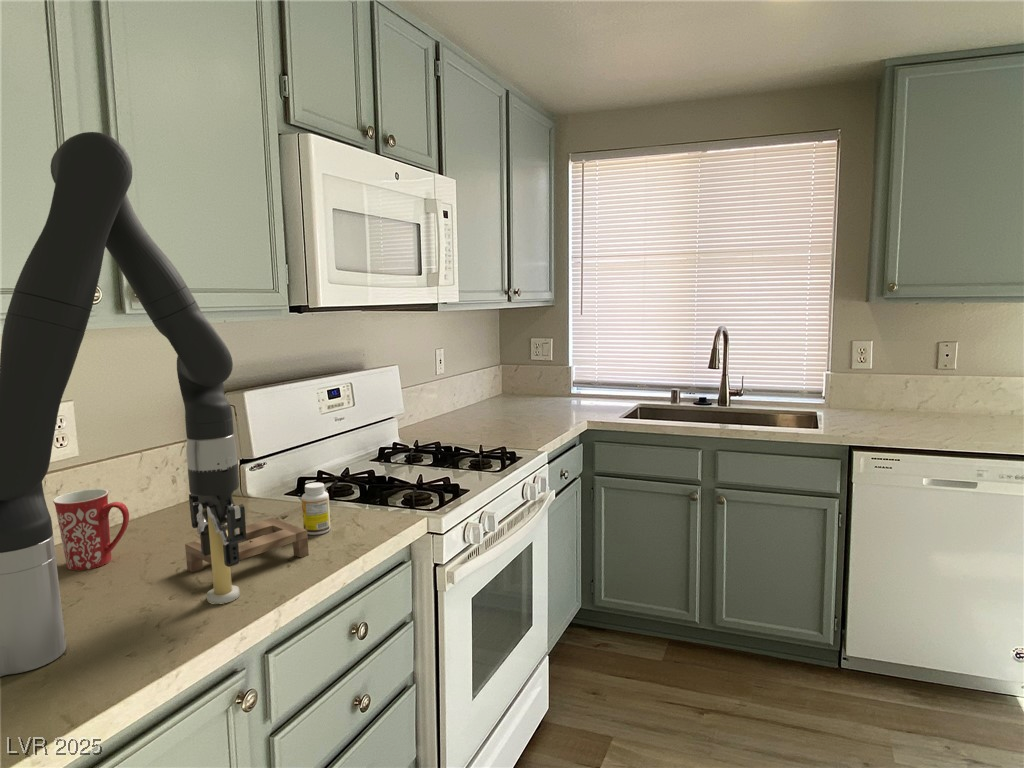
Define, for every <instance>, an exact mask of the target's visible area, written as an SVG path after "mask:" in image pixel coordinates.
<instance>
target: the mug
mask: <svg viewBox="0 0 1024 768" xmlns="http://www.w3.org/2000/svg"><path fill="white" fill-rule="evenodd" d="M108 496H109V490H107V489H104V488H94V489H93V488H91V489H82V490H76V491H72V492H69V493H68V492H66V493H63V494H61V495H59V496H57V497H54V499H53V500H52V503H53V504H54V506H55V513H56V516H57V521H58V527H59V531H60V532H59V533H60V538H61V542H62V547H63V553H64V557H65V564H66V568H67V570H69V569H71V570H70V571H73V570H81V571H86V570H85V569H88V570H93V569H96V567H97V568H99V566H100V567H103V566H105V565H106V564H108V563H109V562H111V560H112V551H113V550H114V549H115V547H116V546H117V544H118V543H119V542H120V540H121V539H122V538H123V536H124V534H125V533H126V530H127V528H128V525H129V522H130V513H129V512H130V511H129V509H128V507H127V505H125V504H124V503H123V502H120V501H114V502H110V503H109V500H108V498H109V497H108ZM112 508H117V509H118V510H119V511H120V512H121V514H122V515H121V516H122V524H121V527H120V530H119V532H118V533H117V535H116V536H115V538H114V539H113V541H111V532H110V530H111V529H110V516H109V515H110V511H111V510H112ZM104 564H105V565H104ZM92 568H93V569H92Z"/></svg>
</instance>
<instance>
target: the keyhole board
mask: <svg viewBox="0 0 1024 768" xmlns="http://www.w3.org/2000/svg"><path fill="white" fill-rule="evenodd" d="M237 529H238V532H239V528H237ZM227 532H228V530H227ZM239 534H240V533H239ZM308 539H309V538H308V534H307V530H305V529H304V527H299V526H296V525H293V524H291V523H288V522H285V521H282V520H279V519H277V518H273V517H272V518H269V519H265V520H262V521H257V522H255V523H252V524H248V525H246V540H243V541H239V542H238V544H241V543H244V544H242V545H238V548H239V561H241V560H245V559H247V558H251V557H254V556H256V555H260V554H262V553H267V552H268V551H271V550H274V549H277V548H280V547H284V546H286V545H289V544H292V548H293V552H292V553H293V556H294V557H296V556H297V557H296V558H298V557H301V558H303V557H302V556H304V557H306V556H305V555H307V556H309V541H308ZM247 541H249V543H245V542H247ZM184 546H185V557H186V558H185V561H186V570H187V571H189V572H191V573H195V572H198V571H201V570H203V569H204V565H203V561H205V562H207V563H209V564H210V565H212V562H211V555H207V556H204V555H202V552H201V540H200V539H197V540H195V541H190V542H187V543H185V544H184Z"/></svg>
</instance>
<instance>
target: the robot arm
mask: <svg viewBox="0 0 1024 768" xmlns="http://www.w3.org/2000/svg"><path fill="white" fill-rule="evenodd" d="M50 174H51V178H52V180H53V182H54V185H55V186H54V191H53V194H52V200H51V204H50V208H49V212H48V215H47V217H46V221H45V224H44V226H43V229H42V230H41V233H40V234H39V236H38V237H37V240H36V241H35V244H34V245H33V247H32V249H31V250H30V253H29V255H28V257H27V258H26V261H25V263H24V265H23V267H22V269H21V271H20V273H19V276H18V278H17V280H16V284H15V286H14V289H13V292H12V295H11V299H10V302H9V305H8V309H7V311H6V315H5V319H4V324H3V328H2V334H1V342H0V343H1V344H0V677H4V676H7V675H8V676H9V675H15V674H20V673H26V672H29V671H32V670H36V669H38V668H42V667H43V666H46V665H47V664H50V663H52V662H53V661H55V660H57V659H58V658H60V657H61V656H62V655H63V654H64V653H65V651H66V650H67V644H66V633H65V626H64V618H63V608H62V599H61V592H60V591H61V590H60V582H59V575H58V574H59V573H58V566H57V564H58V563H57V559H56V558H57V556H56V549H55V548H56V547H55V541H54V540H55V538H54V530H53V529H54V528H53V521H52V517H51V513H50V511H49V509H48V506H47V503H46V502H47V501H46V498H45V493H44V487H43V485H44V484H43V481H44V479H45V477H46V475H47V474H48V470H49V467H50V463H51V458H52V451H53V445H54V444H53V443H54V438H55V431H56V427H57V422H58V414H59V410H60V407H61V406H60V405H61V402H62V400H63V399H62V398H63V395H64V393H65V390H66V387H67V385H68V382H69V380H70V377H71V374H72V372H73V369H74V366H75V363H76V360H77V357H78V355H79V351H80V349H81V345H82V343H83V339H84V337H85V333H86V331H87V330H86V329H87V326H88V323H89V321H90V315H91V312H92V310H93V305H94V300H95V297H96V293H97V288H98V284H99V280H100V276H101V271H102V265H103V260H104V256H105V249H107V251H108V252H109V254H110V255H111V256H112V258H113V260H114V261H115V263H116V264H117V267H118V268H119V269H120V271H121V273H122V274H123V276H124V277H125V280H126V282H128V285H129V286H130V288H131V290H132V291H133V293H134V294H135V296H136V297H137V299H138V301H139V302H140V304H141V306H142V308H143V309H144V312H146V314H147V316H148V317H149V319H150V320H151V322H152V325H154V327H155V328H156V329H157V331H158V332H159V333H160V334H161V335H162V336H164V337H165V338H166V339H167V340H168V342H169V343H170V345H171V346H172V349H173V350H174V352H175V354H176V355H177V357H176V373H177V374H176V375H177V379H178V385H179V389H180V393H181V397H182V401H183V404H184V405H183V406H184V418H185V419H184V421H185V433H186V451H185V452H186V463H187V475H188V476H187V477H188V478H187V479H188V488H189V492H190V494H189V495H188V501H189V502H188V503H189V510H190V519H191V527H192V528H193V529H196V532H197V534H199V538H200V539H199V540H201V552H202V555H204V556H207V555H211V550H210V538H209V526H208V515H209V517H210V518H211V519H212V522H213V525H214V528H215V530H216V532H217V533H220V535H221V538H222V541H223V544H224V545H223V551H224V563H225V565H226V566H228V567H230V568H231V567H232V566H236V565H238V564H239V563H240V560H239V548H238V546H239V543H238V542H239V541H243V540H246V526H247V525H246V524H247V523H246V513H245V512H246V511H245V510H246V509H245V505H244V504H239V505H238V504H235V503H234V500H233V495H232V494H233V493H234V491H237V490H238V489H239V487H240V479H239V477H240V476H239V467H238V466H239V464H238V453H237V451H238V450H237V445H236V441H235V440H236V439H235V436H234V435H235V434H234V433H235V432H234V422H233V421H234V420H233V418H234V417H233V411H232V407H231V404H230V402H229V401H228V399H227V398H226V395H225V394H226V393H225V388H224V387H225V386H224V382H226V381H227V380H228V379H229V377H230V376H231V374H232V372H233V368H234V367H233V366H234V365H233V357H232V354H231V352H230V350H229V349H228V347H227V344H226V343H225V342H224V340H223V339H222V338H221V336H220V335H219V333H218V332H217V331H216V329H215V328H214V327H213V326H212V324H211V323H210V321H209V320H208V319H207V318H206V316H205V315H204V314H203V312H202V310H201V309H200V307H199V305H198V302H197V301H196V299H195V297H194V296H193V294H192V292H191V291H190V288H189V286H188V285H187V283H186V282H185V280H184V279H183V277H182V276H181V273H180V272H179V271H178V269H177V268H176V267H175V265H174V263H173V262H172V261H171V260H170V259H169V258H168V256H167V255H166V254H165V253H164V252H163V250H162V249H161V248H160V247H159V246H158V245H157V243H156V242H155V241H154V240H153V239H152V237H151V236H150V234H148V231H147V230H146V229H145V227H144V226H143V224H142V223H141V221H140V220H139V218H138V216H137V214H136V212H135V210H134V209H133V206H132V205H131V201H130V200H129V197H128V194H127V192H128V191H129V188H130V185H131V184H132V180H133V166H132V161H131V158H130V155H129V153H127V151H126V149H125V148H124V146H123V145H122V144H121V143H120V142H119V141H118V140H117V139H115V138H114V137H112V136H111V135H108V134H105V133H103V132H98V131H87V132H86V131H85V132H81V133H78V134H75V135H73V136H70V137H69V138H67V139H66V140H65V141H63V143H62V144H61V145H60V146H59V147H58V148H57V149H56V150H55V152H54V154H53V155H52V158H51V161H50ZM207 513H208V514H207ZM225 523H227V524H226V525H221V524H225ZM237 528H239V532H238V529H237ZM226 531H228V536H227V533H226ZM239 533H240V534H239Z"/></svg>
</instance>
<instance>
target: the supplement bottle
mask: <svg viewBox="0 0 1024 768" xmlns="http://www.w3.org/2000/svg"><path fill="white" fill-rule="evenodd" d="M325 490H326V488H325V484H324V483H323V482H310V483H306V484H305V485H304V492H305V493H303V494H302V495H301V506H302V508H301V511H302V521H303V529H305V530H307V535H310V536H317V535H323V534H326V533H328V532H329V531H330V530H331V514H330V513H331V511H330V496H329V493H328V492H327V491H325Z"/></svg>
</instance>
